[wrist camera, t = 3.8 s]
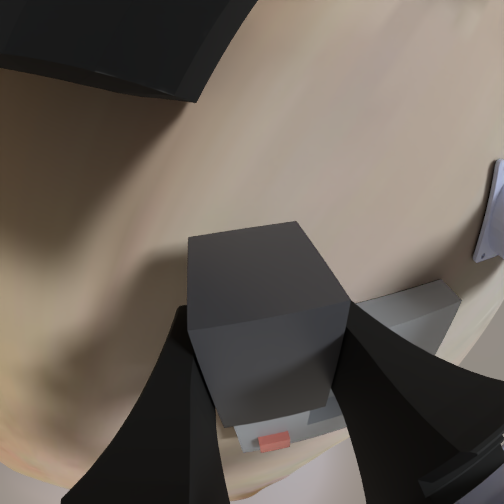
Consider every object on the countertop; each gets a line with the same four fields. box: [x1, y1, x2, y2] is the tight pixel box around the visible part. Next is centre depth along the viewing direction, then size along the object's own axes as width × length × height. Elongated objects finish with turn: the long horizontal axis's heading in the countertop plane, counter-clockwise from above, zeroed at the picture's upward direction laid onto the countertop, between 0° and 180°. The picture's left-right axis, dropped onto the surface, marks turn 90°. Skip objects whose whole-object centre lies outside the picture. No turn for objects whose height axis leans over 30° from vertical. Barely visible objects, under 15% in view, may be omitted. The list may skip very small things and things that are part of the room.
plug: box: [187, 221, 351, 428], centre depth 9 cm, size 4×5×5 cm
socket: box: [234, 279, 462, 453], centre depth 19 cm, size 16×14×3 cm
